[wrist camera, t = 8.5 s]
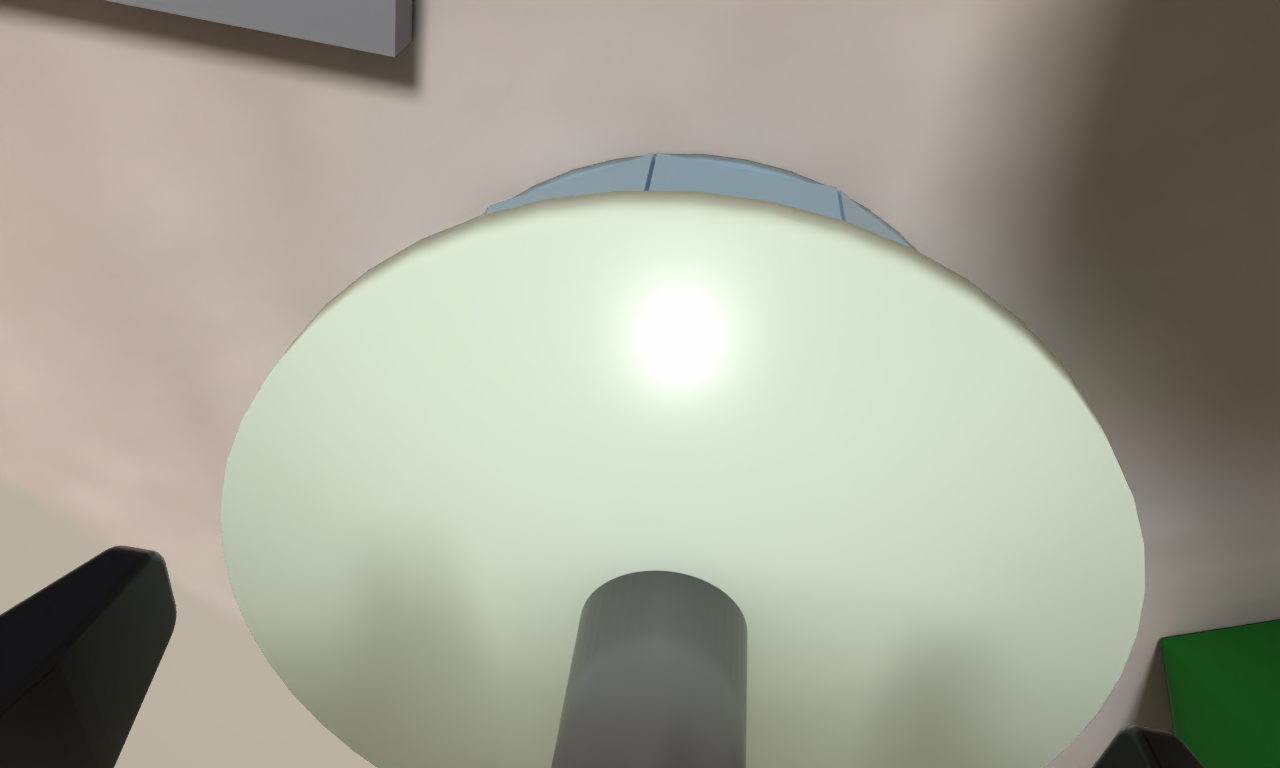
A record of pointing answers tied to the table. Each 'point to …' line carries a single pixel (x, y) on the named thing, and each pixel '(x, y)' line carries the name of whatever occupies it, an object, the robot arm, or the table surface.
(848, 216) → the ring
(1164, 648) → the milk carton
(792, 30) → the table surface
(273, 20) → the mat
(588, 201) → the lid
